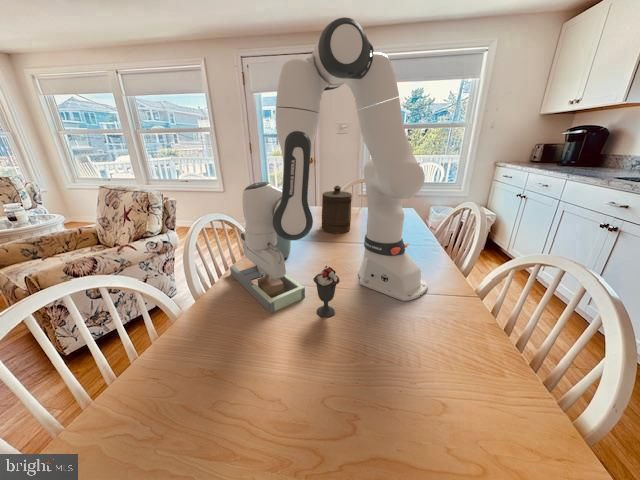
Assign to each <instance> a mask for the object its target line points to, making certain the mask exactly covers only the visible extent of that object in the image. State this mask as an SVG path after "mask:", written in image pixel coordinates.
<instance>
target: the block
mask: <svg viewBox="0 0 640 480" xmlns="http://www.w3.org/2000/svg"><path fill="white" fill-rule="evenodd" d="M256 279H257V286H258V287H259V288H261V289H262V290H263V291H264V292H265V293H266V294H267V295H268V296H270V297H271V298H274V297H276V296H278V295H281V294H283V293H285V291H284V290H285V286H284V285H283V282H282V281H281V280H280V278H279V279H276V280H275V279H273V278H272V277H271V276H268V277H264V278H260V277H259V278H256Z"/></svg>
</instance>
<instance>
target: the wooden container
mask: <svg viewBox="0 0 640 480" xmlns="http://www.w3.org/2000/svg"><path fill="white" fill-rule="evenodd" d="M333 189H334V190H333V191H324V192H322V199H321V200H322V205H321V230H322V231H323V232H326V233H331V234H344V233H347V232H349V231H350V230H351V222H352V200H353V194H352V193H351V192H348V191H343V190H342V187H341V186H340V185H335V186H334V187H333Z"/></svg>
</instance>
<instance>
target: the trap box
mask: <svg viewBox="0 0 640 480" xmlns="http://www.w3.org/2000/svg"><path fill="white" fill-rule="evenodd" d="M229 270H230V275H231V276H232V277H233V278H234V279H236V281H237V282H238V283H239V284H240V285H241V286H242V287H244V289H245V290H246V291H248V293H249V294H251V295H252V297H254V298H255V299H256V301H258V302H259V303H260V304H261V305H262V306H263V308H265V309H266V310H267V311H268V312H269V313H271V314H272V313H274V312H277V311H279V310H280V309H283V308H286V307H287V306H290V305H291V304H294V303H296V302H298V301H300V300H303V299H305V298H306V291H305V289H306V287H305V286H304V285H302V284H301V283H300V282H298V281H297V280H295V279H294V278H292V277H291V276H290V275H288V274H287V273H286V274H285V276H284V277H282V278H280V280H281V281H282V282H283V287H286V288H287V289H288V291H285V292H284V293H283V294H281V295H278V296H276V297H274V298H271V297H270V296H268V295H267V294H266V293H265V292H264V291H263V290H262V289H261V288H259V287H258V284H255V283H254V282H252V281H253V280H255V279H260V273H259V270H258V268H257V265H253V266H251V267H248V268H244V269H242V270H239V269H238V268H237V267H236V266H234V265H230V266H229Z"/></svg>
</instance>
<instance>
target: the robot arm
mask: <svg viewBox="0 0 640 480" xmlns="http://www.w3.org/2000/svg"><path fill="white" fill-rule="evenodd" d="M393 68H394V67H393V65H392V63H391V60H390V58H389V56H388V55H387V54H385V53H383V52H374V47H373V45H372V43H371V42H370V41H369V39H368V37H367V35H366V32H365V30H364V29H363V27H362V25H360V23H359V22H357V21H356V20H355V19H353V18H351V17H339V18H336V19H334V20H333V21H331V22H330V23H329V24H327V25H326V26H325V27H324V29H323V31H322V32H321V34H320V35H319V37H318V39H317V41H316V42H315V44H314V48H313V51H312V53H311V55H310V57H308V58H303V57H294V58H291V59H288V60H287V61H286V62H285V63H283V65H282V67H281V71H280V75H279V80H278V85H277V90H276V97H275V98H276V99H275V129H276V130H275V131H276V136H277V141H278V143H279V147H280V151H281V156H282V161H283V162H282V163H283V169H282V170H283V171H282V187H281V188H282V189H280V188H278V187H276V186H275V185H273V184H271V183H270V182H267V181H262V182H255V183H252V184H248V186H247V187H245V188H244V190H243V191H242V201H241V203H242V216H243V218H244V221H245V228H244V231H241V232H239V237H240V239H241V243H242V250H243V254H244V256H245V258H246V259H248V260H249V261H250V262H252V263H253V264H254V266H257V268H258V270H259V273H260V277H259V279H260V278H264V277H268V276H271V277H272V278H273V279H275V280H276V279H279V278H282V277H284V276H285V274H287V270H286V264H285V258H284V256H283V254H282V252H281V251H279V249H278V248H277V247H275V245H276V244H277V235H276V233H277V234H278V235H279V236H280V237H282V238H284V239H286V240H291V241H298V240H301V239H303V238H304V237H306V236H307V235H308V234H309V233H310V232H311V230H312V227H313V224H314V223H313V222H314V219H313V214H312V212H311V209H310V206H309V202H308V197H309V196H308V195H309V194H308V192H309V179H310V165H311V158H312V153H313V149H314V146H315V145H314V144H315V140H316V137H317V133H318V127H319V121H320V111H321V100H322V97H323V93H324V91H332V90H335V89H338V88H339V87H341V86H342V85H346V86H348V88H349V89H350V91H351V93H352V94H353V97H354V102H355V103H354V104H355V108H356V112H357V113H356V114H357V117H358V122H359V128H360V132H361V137H362V140H363V143H364V144H365V146H366V148H367V151H368V153H369V155H370V159H369V160H368V161H366V163H365V164H364V167H363V171H362V173H363V178H364V181H365V195H366V205H367V219H366V221H367V222H366V233H365V236H364V240H363V247H364V252H363V258H362V260H361V261H362V262H361V265H360V268H359V270H358V277H359V284H360V285H361V286H364V287H366V288H368V289H371V290H374V291H376V292H379V293H382V294H384V295H386V296H389V297H392V298H394V299H397V300H399V301H402V302H404V301H405V302H406V301H413V300H414V299H417V298H419V297H421V296H422V295H424V294H425V293H426V291H427V289H428V282H427V281H425V280H424V279H422V273H421V272H422V271H421V268H420V266H419V265H418V264H417V263H416V262H415V261H414V260H413V258H412V257H411V256H410V255H409V254H408V253H407V252H406V248H408V247H409V242H408V243H404V239H403V229H404V223H405V222H404V221H405V211H404V209H403V205H402V200H409V199H411V198H413V197H415V196H417V195H418V194H419V192H420V191H422V188H423V187H424V184H425V179H426V178H425V175H426V174H425V171H424V169H423V168H422V166H421V164H419V163H418V161H417V159H416V157H415V155H414V152H413V150H412V147H411V145H410V142H409V141H410V140H409V139H408V136H407V133H406V130H405V126H404V119H403V115H402V114H403V113H402V107H401V98H400V95H399V87H398V82H397V79H396V75H395V72H394V69H393ZM420 295H421V296H420Z"/></svg>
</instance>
